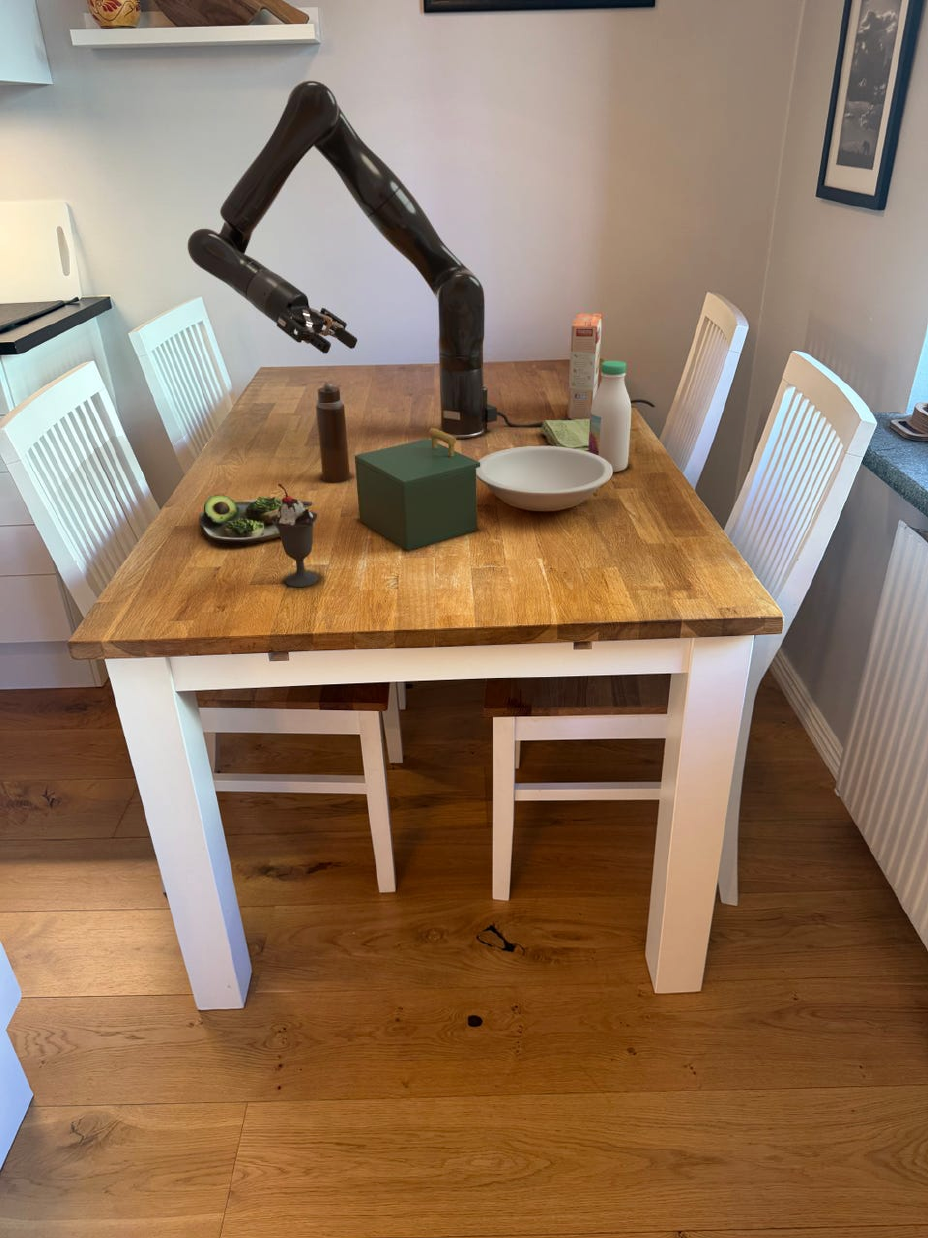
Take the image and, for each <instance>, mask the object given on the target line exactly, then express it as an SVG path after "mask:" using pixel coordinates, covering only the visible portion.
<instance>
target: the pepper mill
mask: <svg viewBox="0 0 928 1238" xmlns="http://www.w3.org/2000/svg"><path fill="white" fill-rule="evenodd" d="M317 397H318V398H317V400H316V405H315V413H316V424H317V435H318V445H319V452H320V453H319V454H320V455H319V456H320V464H321V466H320V467H321V473H322V480H323V481H325V482H327V483H342V482H345V481H348V480H349V479H350V478H351V473H350V472H351V471H350V459H349V446H348V437H347V436H348V435H347V423H346V422H347V421H346V411H345V404H344V402H343V399H342V398H341V390H340V388H339V387H337V386H334V385H333V383H331V382H330V381H326V382H325V383H324V384H323V387H319V388H318V389H317Z"/></svg>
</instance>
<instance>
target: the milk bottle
mask: <svg viewBox="0 0 928 1238" xmlns="http://www.w3.org/2000/svg"><path fill="white" fill-rule="evenodd" d="M626 373H627V363H626V362H624V361H621V360H605V361H603V362H602V363H601V364H600V376H601V379H600V383H599V385H598V387H597V392H596V394H595V396H594V399H593V402H592V406H591V413H590V428H589V446H588V452H590V453H593V454H595V455H598V456H600V457H602V458H604V459H605V460H606V461H608V462H609V463H610V464H611V466H612V469H613V473H618V472H621V471H624V470H626V469H627V468H628V465H629V452H630V441H631V440H630V439H631V426H632V425H631V424H632V423H631V422H632V403H631V402H630V400H631V399H630V396H629V393H628V390H627V387H626V383H625V376H626V375H627V374H626Z"/></svg>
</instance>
